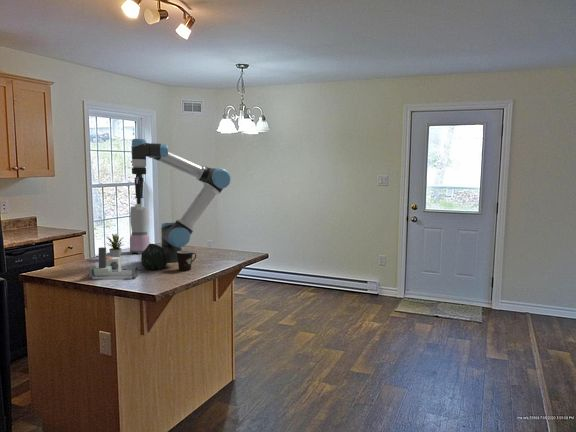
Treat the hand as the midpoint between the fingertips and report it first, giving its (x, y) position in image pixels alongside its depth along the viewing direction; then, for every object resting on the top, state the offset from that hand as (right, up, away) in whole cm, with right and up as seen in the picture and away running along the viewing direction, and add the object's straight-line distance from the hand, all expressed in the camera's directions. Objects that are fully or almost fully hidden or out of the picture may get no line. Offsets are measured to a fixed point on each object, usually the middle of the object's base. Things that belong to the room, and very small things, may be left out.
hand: (139, 209), depth 246 cm
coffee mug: (+27, -33, -1) cm, 43 cm away
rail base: (-5, -35, -23) cm, 42 cm away
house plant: (-24, -30, +25) cm, 46 cm away
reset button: (-12, -29, -14) cm, 34 cm away
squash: (+9, -33, 0) cm, 34 cm away
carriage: (-10, -33, -24) cm, 42 cm away
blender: (-15, -28, +48) cm, 58 cm away
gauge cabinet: (-10, -34, -14) cm, 38 cm away
